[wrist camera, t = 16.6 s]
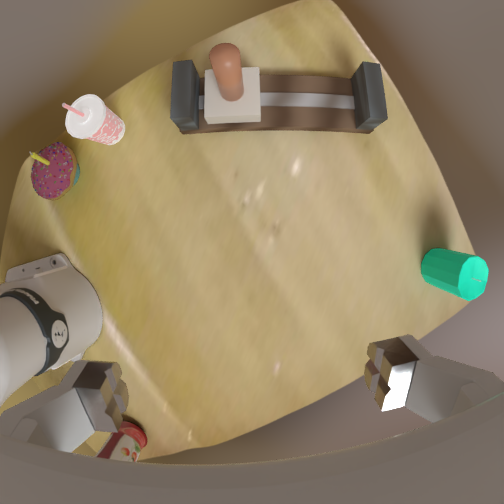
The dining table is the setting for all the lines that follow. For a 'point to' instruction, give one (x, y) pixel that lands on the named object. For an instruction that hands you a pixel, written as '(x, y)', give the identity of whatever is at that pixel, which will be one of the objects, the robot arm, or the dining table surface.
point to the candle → (455, 272)
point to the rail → (289, 102)
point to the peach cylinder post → (231, 88)
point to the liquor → (124, 443)
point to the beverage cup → (93, 120)
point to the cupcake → (54, 171)
